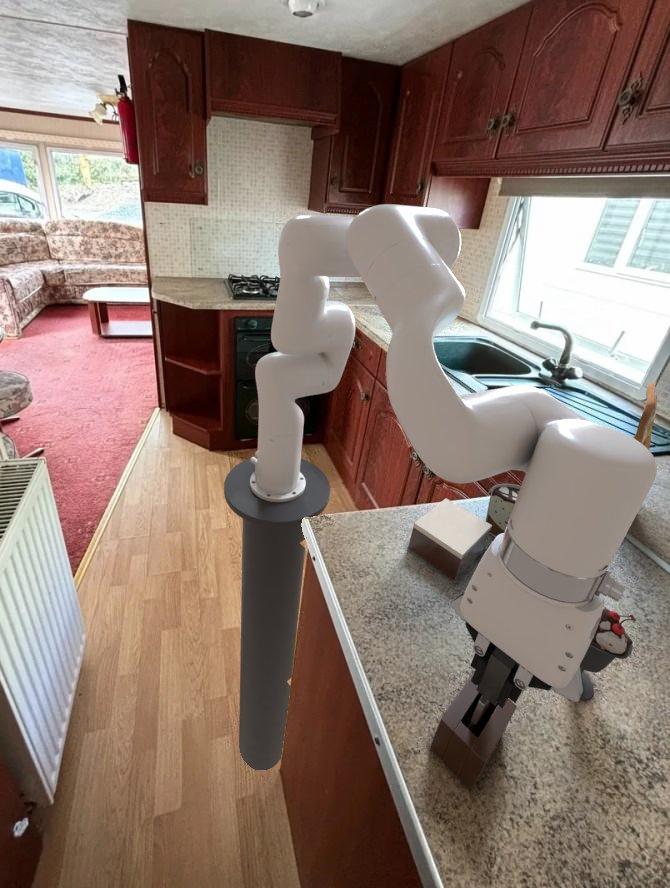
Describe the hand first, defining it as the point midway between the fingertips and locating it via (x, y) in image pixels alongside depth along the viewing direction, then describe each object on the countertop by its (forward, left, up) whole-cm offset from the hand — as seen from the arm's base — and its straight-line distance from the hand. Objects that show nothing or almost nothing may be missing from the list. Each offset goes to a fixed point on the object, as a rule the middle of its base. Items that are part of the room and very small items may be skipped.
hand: (492, 684), depth 43 cm
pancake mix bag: (0, +66, -11) cm, 67 cm away
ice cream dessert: (-10, +39, -11) cm, 42 cm away
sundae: (+6, +18, -11) cm, 22 cm away
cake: (-17, +26, -11) cm, 33 cm away
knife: (0, 0, -11) cm, 11 cm away
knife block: (0, 0, -11) cm, 11 cm away
